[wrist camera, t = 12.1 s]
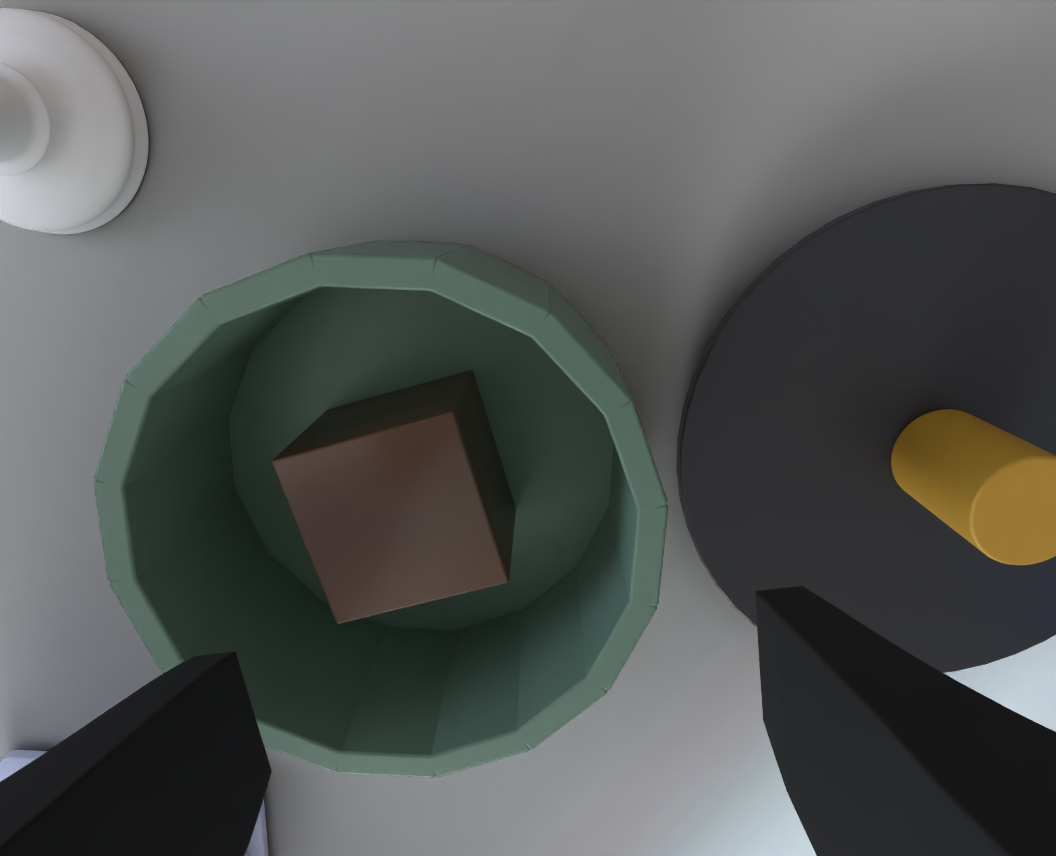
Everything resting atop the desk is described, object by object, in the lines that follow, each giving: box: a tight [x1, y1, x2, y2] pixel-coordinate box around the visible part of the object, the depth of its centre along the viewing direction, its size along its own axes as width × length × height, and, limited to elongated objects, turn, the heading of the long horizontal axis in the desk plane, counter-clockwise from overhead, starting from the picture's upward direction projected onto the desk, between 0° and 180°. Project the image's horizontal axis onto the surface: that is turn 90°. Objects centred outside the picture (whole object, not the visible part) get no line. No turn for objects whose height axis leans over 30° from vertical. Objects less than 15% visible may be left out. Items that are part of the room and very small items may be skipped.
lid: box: [677, 183, 1056, 673], centre depth 17 cm, size 13×13×5 cm
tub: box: [94, 241, 668, 778], centre depth 17 cm, size 11×11×5 cm
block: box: [272, 370, 516, 624], centre depth 17 cm, size 4×4×4 cm
